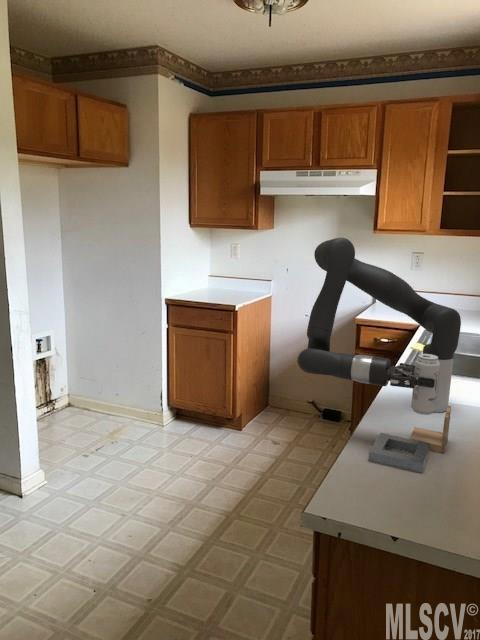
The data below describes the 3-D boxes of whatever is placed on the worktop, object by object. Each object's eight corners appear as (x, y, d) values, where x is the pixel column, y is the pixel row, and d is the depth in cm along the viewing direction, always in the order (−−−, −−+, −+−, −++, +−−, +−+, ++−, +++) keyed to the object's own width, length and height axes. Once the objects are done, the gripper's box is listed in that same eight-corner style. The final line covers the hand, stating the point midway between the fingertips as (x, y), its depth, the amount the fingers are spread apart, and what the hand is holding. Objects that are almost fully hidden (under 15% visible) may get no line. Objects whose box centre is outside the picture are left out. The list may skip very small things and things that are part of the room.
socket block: (379, 441, 143) (380, 432, 143) (429, 451, 138) (430, 443, 137) (368, 460, 132) (369, 451, 131) (422, 473, 126) (423, 463, 126)
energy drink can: (433, 417, 134) (439, 361, 130) (409, 412, 136) (414, 357, 133) (436, 409, 139) (441, 355, 136) (412, 405, 142) (417, 351, 138)
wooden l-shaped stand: (413, 433, 149) (417, 400, 147) (447, 440, 145) (451, 406, 143) (408, 445, 141) (411, 410, 139) (443, 453, 137) (447, 417, 135)
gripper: (365, 363, 135) (434, 373, 128) (377, 350, 147) (440, 358, 140) (363, 391, 136) (431, 402, 129) (375, 375, 149) (437, 385, 142)
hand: (435, 379), depth 135 cm, fingers closed on energy drink can, 6 cm apart
